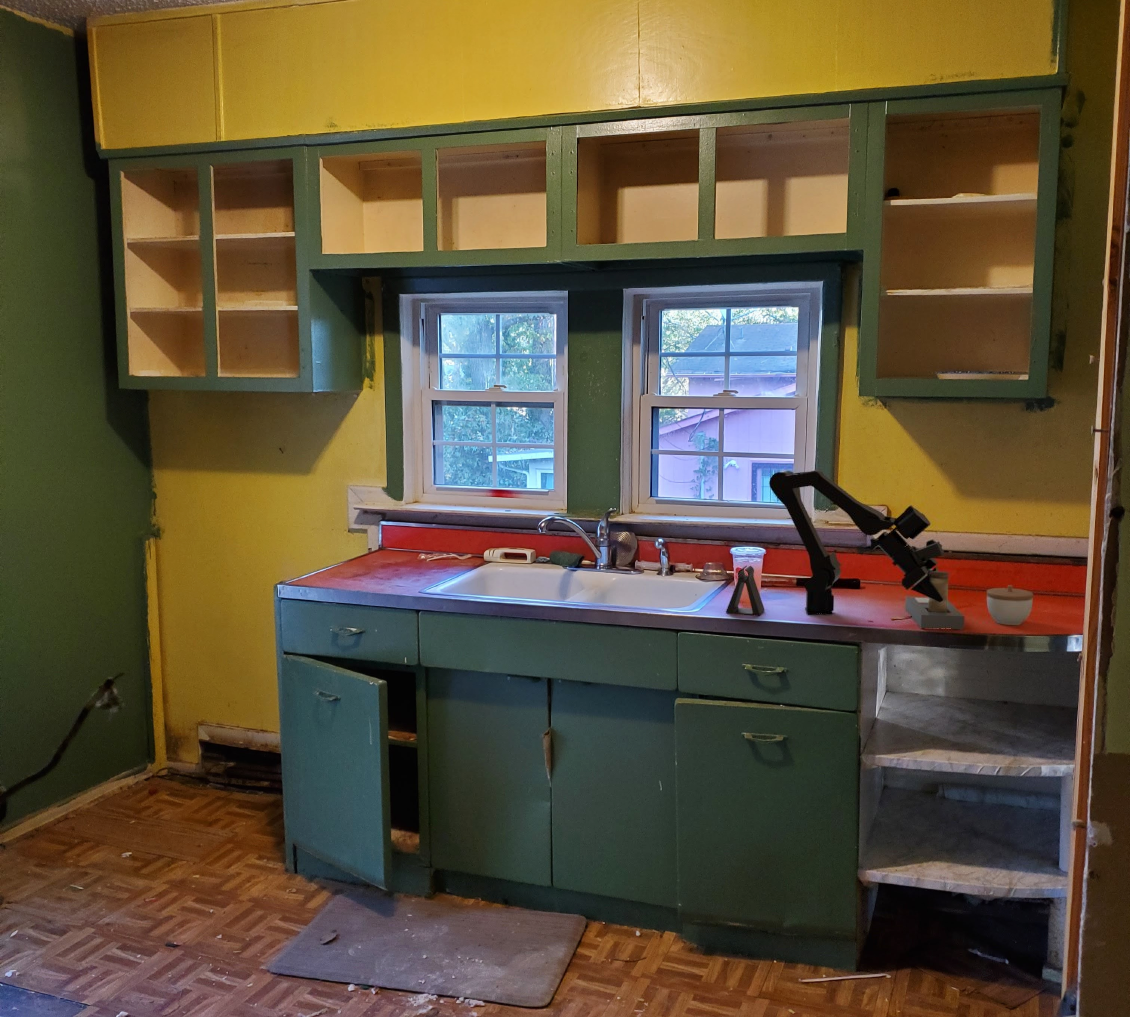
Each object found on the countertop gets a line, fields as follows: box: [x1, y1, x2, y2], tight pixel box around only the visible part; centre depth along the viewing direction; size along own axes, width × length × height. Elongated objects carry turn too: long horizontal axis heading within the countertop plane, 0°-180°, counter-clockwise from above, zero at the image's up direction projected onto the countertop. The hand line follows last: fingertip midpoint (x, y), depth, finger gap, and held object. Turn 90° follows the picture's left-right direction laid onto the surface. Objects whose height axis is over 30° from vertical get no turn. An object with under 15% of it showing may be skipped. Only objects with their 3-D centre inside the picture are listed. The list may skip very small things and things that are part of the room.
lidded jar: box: [986, 584, 1034, 626], centre depth 262 cm, size 11×11×9 cm
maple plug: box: [928, 570, 950, 613], centre depth 261 cm, size 5×5×13 cm
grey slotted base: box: [904, 596, 965, 630], centre depth 266 cm, size 10×22×4 cm, turn 172°
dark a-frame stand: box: [725, 565, 766, 617], centre depth 275 cm, size 9×6×12 cm, turn 67°
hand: (943, 598), depth 260 cm, fingers open, 6 cm apart
